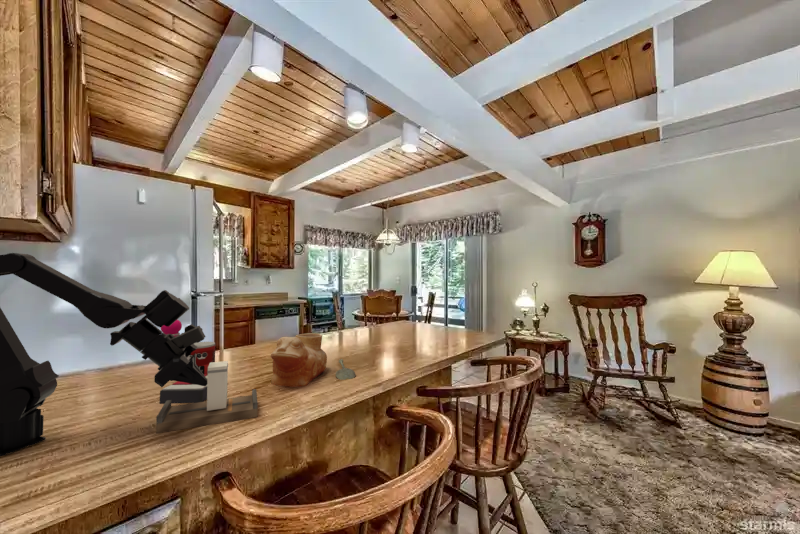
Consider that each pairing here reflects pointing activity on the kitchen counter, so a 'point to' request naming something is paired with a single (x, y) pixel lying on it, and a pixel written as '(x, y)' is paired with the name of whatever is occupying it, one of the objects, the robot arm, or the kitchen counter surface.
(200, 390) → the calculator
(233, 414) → the panel
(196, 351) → the canned food
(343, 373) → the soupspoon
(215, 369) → the slider knob
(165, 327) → the pepper mill
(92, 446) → the kitchen counter surface
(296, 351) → the ceramic vessel
